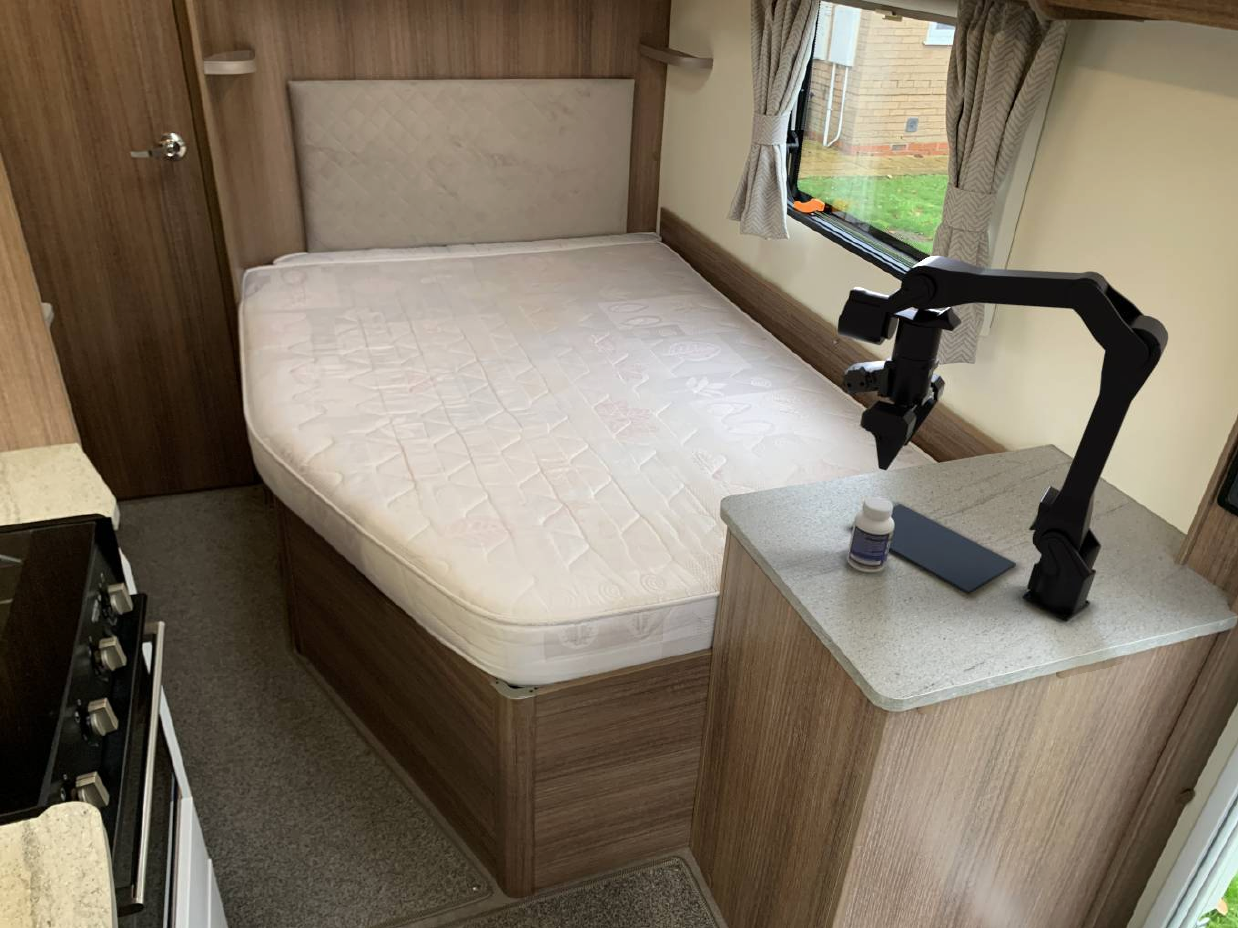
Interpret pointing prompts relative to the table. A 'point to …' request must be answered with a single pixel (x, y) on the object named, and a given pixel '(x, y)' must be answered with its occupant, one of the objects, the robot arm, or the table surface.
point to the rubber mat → (944, 551)
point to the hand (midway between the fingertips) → (893, 456)
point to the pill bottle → (871, 535)
